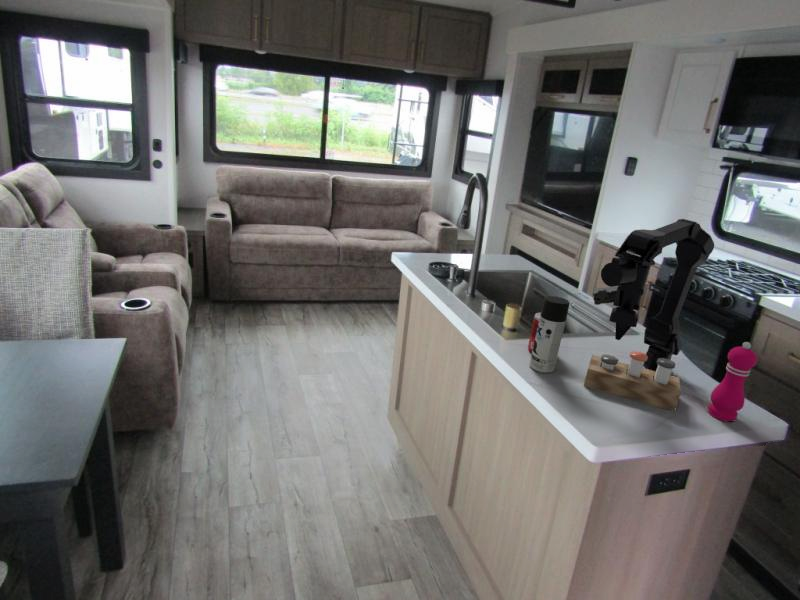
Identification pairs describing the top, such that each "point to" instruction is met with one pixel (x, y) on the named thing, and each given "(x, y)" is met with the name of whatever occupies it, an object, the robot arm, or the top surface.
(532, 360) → the spray can
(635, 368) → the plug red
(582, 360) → the top surface
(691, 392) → the chef's knife
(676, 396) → the socket board
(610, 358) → the plug
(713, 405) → the pepper mill
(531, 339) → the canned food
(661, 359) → the plug
